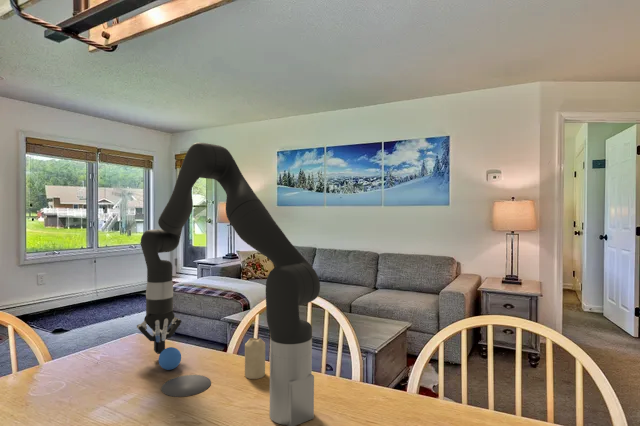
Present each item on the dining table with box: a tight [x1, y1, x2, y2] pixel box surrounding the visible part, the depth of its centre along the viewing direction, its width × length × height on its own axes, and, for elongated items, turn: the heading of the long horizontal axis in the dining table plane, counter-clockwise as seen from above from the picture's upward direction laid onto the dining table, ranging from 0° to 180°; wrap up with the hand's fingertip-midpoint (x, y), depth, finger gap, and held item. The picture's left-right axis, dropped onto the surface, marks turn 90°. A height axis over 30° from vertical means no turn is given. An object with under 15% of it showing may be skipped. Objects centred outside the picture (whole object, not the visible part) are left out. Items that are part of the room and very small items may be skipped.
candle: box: [244, 337, 266, 380], centre depth 108 cm, size 6×6×10 cm
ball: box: [158, 346, 182, 371], centre depth 111 cm, size 6×6×6 cm
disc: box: [161, 374, 212, 398], centre depth 101 cm, size 12×12×1 cm
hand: (159, 353), depth 119 cm, fingers closed
